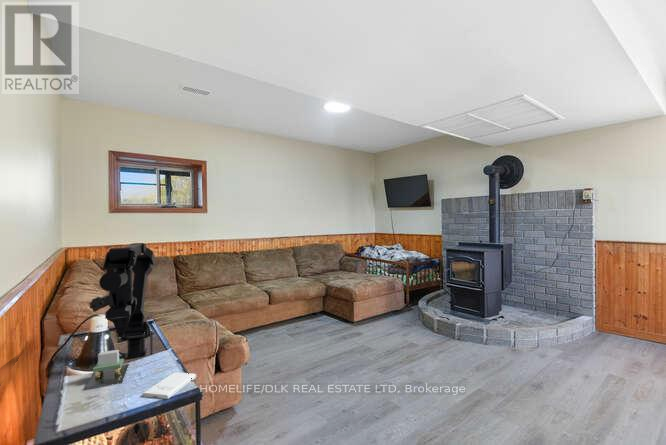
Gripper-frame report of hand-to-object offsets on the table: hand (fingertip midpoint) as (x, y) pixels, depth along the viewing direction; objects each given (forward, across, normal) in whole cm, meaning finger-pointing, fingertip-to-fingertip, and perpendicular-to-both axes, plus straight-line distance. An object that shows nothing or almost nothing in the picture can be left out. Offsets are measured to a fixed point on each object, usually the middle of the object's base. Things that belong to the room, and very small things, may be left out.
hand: (122, 332), depth 105 cm
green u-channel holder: (+9, +3, -4) cm, 10 cm away
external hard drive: (+13, +19, +14) cm, 27 cm away
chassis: (+12, +3, -4) cm, 13 cm away
